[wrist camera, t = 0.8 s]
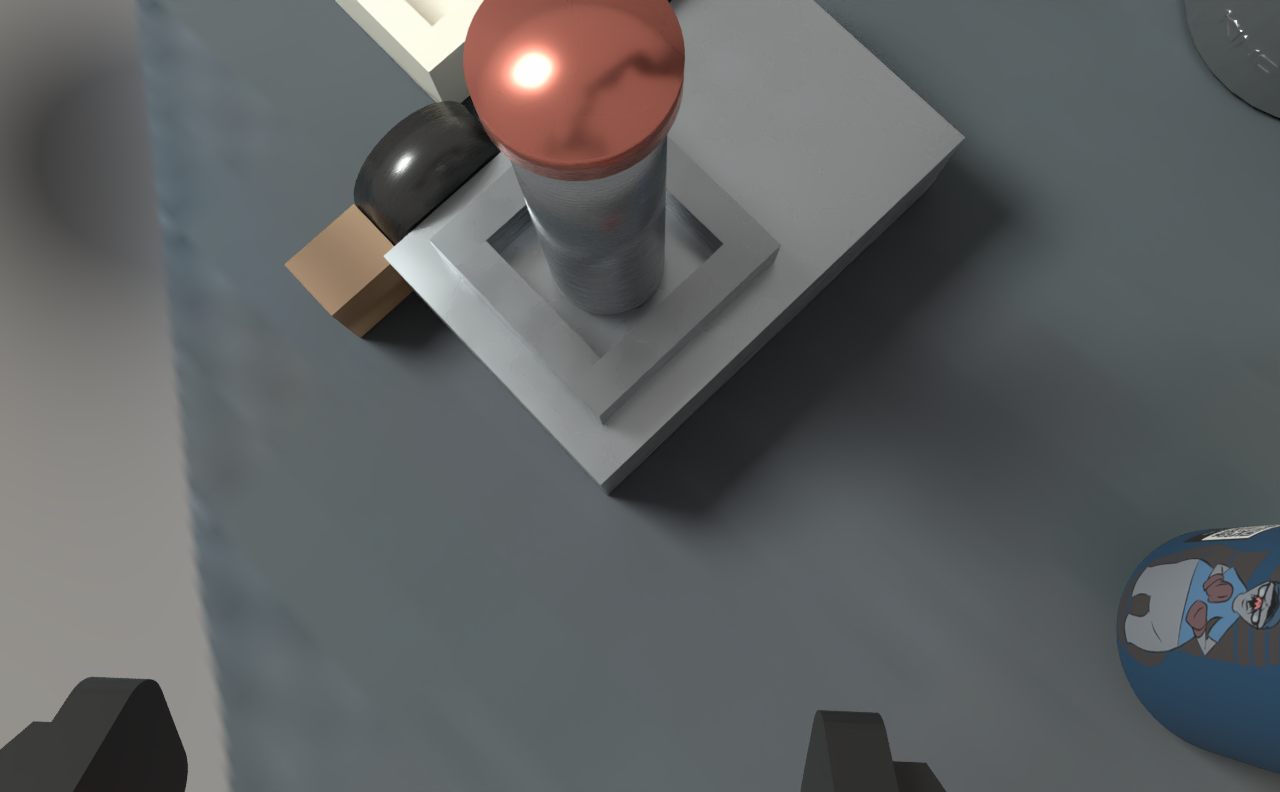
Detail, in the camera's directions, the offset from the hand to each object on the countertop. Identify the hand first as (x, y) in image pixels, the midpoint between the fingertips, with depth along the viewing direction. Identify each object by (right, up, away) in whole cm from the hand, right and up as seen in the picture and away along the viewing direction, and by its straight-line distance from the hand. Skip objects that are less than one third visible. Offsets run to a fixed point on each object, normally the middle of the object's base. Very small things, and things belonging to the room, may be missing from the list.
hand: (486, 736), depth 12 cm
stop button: (+1, +8, +18) cm, 20 cm away
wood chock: (-8, +8, +22) cm, 25 cm away
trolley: (+2, +11, +22) cm, 25 cm away
